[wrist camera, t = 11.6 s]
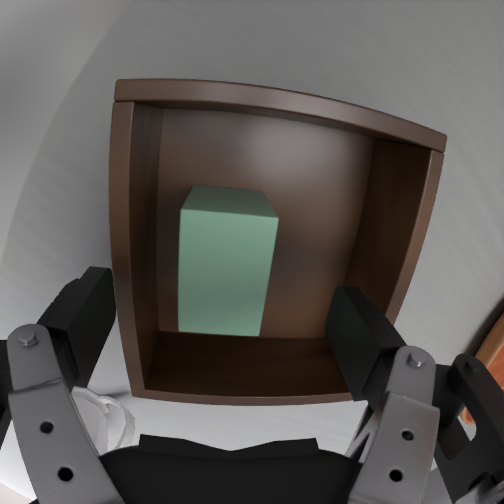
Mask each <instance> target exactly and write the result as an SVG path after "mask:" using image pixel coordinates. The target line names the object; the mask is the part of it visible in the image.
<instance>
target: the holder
mask: <svg viewBox="0 0 504 504" xmlns="http://www.w3.org/2000/svg"><path fill="white" fill-rule="evenodd" d="M114 101H116V102H114V103H113V111H112V123H111V137H110V158H109V223H110V244H111V259H112V271H113V281H114V291H115V299H116V307H117V315H118V322H119V329H120V335H121V341H122V347H123V352H124V358H125V363H126V368H127V373H128V378H129V382H130V387H131V392H132V396H133V397H139V398H146V399H154V400H162V401H172V402H182V403H195V404H210V405H234V406H279V405H303V404H319V403H331V402H341V401H351V400H353V398H352V396H351V393H350V391H349V389H348V386H347V384H346V382H345V379H344V377H343V374H342V372H341V370H340V367H339V365H338V363H337V361H336V358H335V356H334V354H333V351H332V349H331V347H330V344H329V342H328V340H327V338H326V334H325V322H326V318H327V315H328V311H329V308H330V305H331V301H332V298H333V294H334V291H335V289H336V287H337V286H339V285H342V286H358V287H359V288H360V290H361V291H362V292H363V294H364V295H365V296H366V298H367V299H369V300H371V301H372V302H373V303H375V304H376V305H377V306H379V307H380V308H381V310H382V311H383V313H384V314H385V315H386V317H387V318H388V319H389V321H390V322H391V324H392V325H394V323H395V321H396V318H397V316H398V313H399V311H400V308H401V306H402V303H403V301H404V298H405V295H406V293H407V290H408V287H409V285H410V282H411V279H412V276H413V273H414V270H415V267H416V264H417V261H418V258H419V255H420V252H421V249H422V245H423V242H424V239H425V235H426V232H427V228H428V225H429V221H430V217H431V214H432V210H433V206H434V202H435V197H436V193H437V189H438V184H439V180H440V175H441V170H442V165H443V159H444V154H443V152H445V147H446V141H447V136H446V135H445V134H443V133H440V132H438V131H435V130H433V129H430V128H428V127H425V126H422V125H420V124H417V123H414V122H411V121H408V120H405V119H402V118H399V117H396V116H393V115H390V114H387V113H384V112H380V111H377V110H374V109H370V108H367V107H363V106H359V105H356V104H352V103H348V102H344V101H340V100H336V99H331V98H327V97H323V96H318V95H313V94H308V93H303V92H298V91H292V90H286V89H280V88H274V87H267V86H260V85H253V84H244V83H235V82H225V81H212V80H196V79H164V78H151V79H119V80H117V81H116V87H115V95H114ZM194 185H196V186H209V187H221V188H232V189H242V190H252V191H262V192H264V193H265V195H266V197H267V199H268V200H269V202H270V204H271V206H272V207H273V209H274V211H275V213H276V214H277V216H278V218H279V221H278V228H277V234H276V240H275V246H274V252H273V258H272V264H271V270H270V276H269V282H268V288H267V294H266V299H265V305H264V311H263V316H262V322H261V328H260V333H259V336H241V335H223V334H208V333H194V332H182V331H179V330H178V258H179V229H180V210H181V208H182V206H183V204H184V202H185V200H186V198H187V196H188V194H189V192H190V191H191V189H192V187H193V186H194Z"/></svg>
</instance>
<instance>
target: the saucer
mask: <svg viewBox="0 0 504 504" xmlns="http://www.w3.org/2000/svg"><path fill="white" fill-rule="evenodd" d="M475 357H476V358H477V359H479V360H480V361H481V362H482V363H483V364H484V365H485V367H486V368H487V369H488V371H489V372H490V373H491V375H492V376H493V378H494V379H495V380H496V382H497V383H498V384H499V386H500V387H501V389H502V390H503V392H504V312H503V314H502V315H501V316H500V318H499V319H498V321H497V322H496V323H495V325H494V326H493V328H492V329H491V331H490V332H489V334H488V335H487V337H486V338H485V340H484V342H483V343H482V345H481V347H480V348H479V350H478V352H477V353H476V355H475ZM459 415H460V417H461V419H462V420H463V421H464V422H465V423H466V424H470V425H472V424H475V422H474V420H473V418H472V417H471V415H470V413H469V411H468V410H467V408H466V407H465V408H464V409H463V411H462V412H461V413H460V414H459Z"/></svg>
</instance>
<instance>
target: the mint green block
mask: <svg viewBox="0 0 504 504" xmlns="http://www.w3.org/2000/svg"><path fill="white" fill-rule="evenodd" d="M278 221H279V218H278V216H277V214H276V213H275V211H274V209H273V207H272V206H271V204H270V202H269V200H268V199H267V197H266V195H265V193H264V192H262V191H252V190H242V189H232V188H221V187H209V186H196V185H194V186H193V187H192V189H191V191H190V192H189V194H188V196H187V198H186V200H185V202H184V204H183V206H182V208H181V210H180V229H179V258H178V330H179V331H182V332H194V333H208V334H223V335H241V336H259V333H260V328H261V322H262V316H263V311H264V305H265V299H266V294H267V288H268V282H269V276H270V270H271V264H272V258H273V252H274V246H275V240H276V234H277V228H278Z"/></svg>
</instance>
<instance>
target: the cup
mask: <svg viewBox="0 0 504 504" xmlns="http://www.w3.org/2000/svg"><path fill="white" fill-rule="evenodd" d="M71 394H72V396H73V399H74V401H75V404H76V406H77V408H78V411H79V413H80V415H81V417H82V420H83V422H84V424H85V426H86V428H87V430H88V432H89V434H90V436H91V438H92V440H93V442H94V444H95V446H96V448H97V450H98V452H99V453H100V455H103V454H105V453H107V449H108V430H107V419H106V418H105V415H106V414H107V413H108V411H109V409H108V407H107V406H106V404H108V403H109V404H112V405H115V406H117V407H119V408H120V409H121V410H123V412H124V413H125V418H126V425H125V428H124V431H123V434H122V436H121V438H120V441H119V443H118V445H117V446H116V447H115V449H119V448H123V447H129V445H130V443H131V441H132V438H133V434H134V431H135V420H134V417H133V415H132V414H131V413H130V411H129V410H128V409H127V408H126V407H124V406H123V405H122V404H121V403H119V402H118V401H116V400H115V399H113V398H111V397H108V396H105V395H103V396H98V395H96V394H95V393H93V392H91V391H90V390H88V389H87V388H79V387H74V388H73V390H72V392H71ZM115 449H114V450H115Z"/></svg>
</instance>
